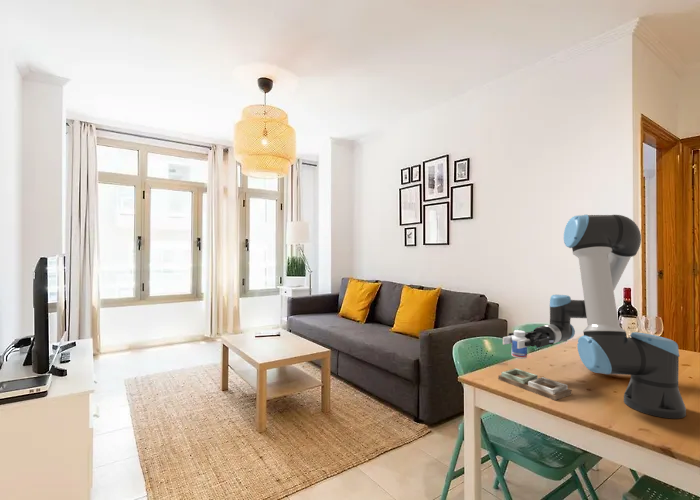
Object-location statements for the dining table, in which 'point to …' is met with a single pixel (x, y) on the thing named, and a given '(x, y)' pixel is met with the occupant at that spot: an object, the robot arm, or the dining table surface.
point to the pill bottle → (515, 351)
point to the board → (535, 384)
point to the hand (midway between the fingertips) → (510, 342)
